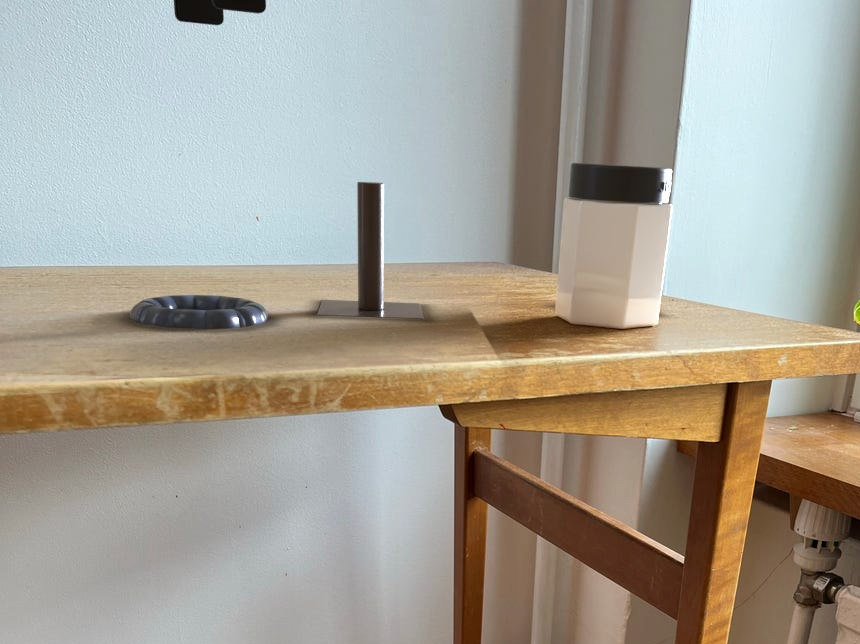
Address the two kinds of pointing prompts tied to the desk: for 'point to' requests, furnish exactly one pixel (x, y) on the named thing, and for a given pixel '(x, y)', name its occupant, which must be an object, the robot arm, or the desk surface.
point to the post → (370, 264)
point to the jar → (613, 245)
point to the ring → (198, 312)
